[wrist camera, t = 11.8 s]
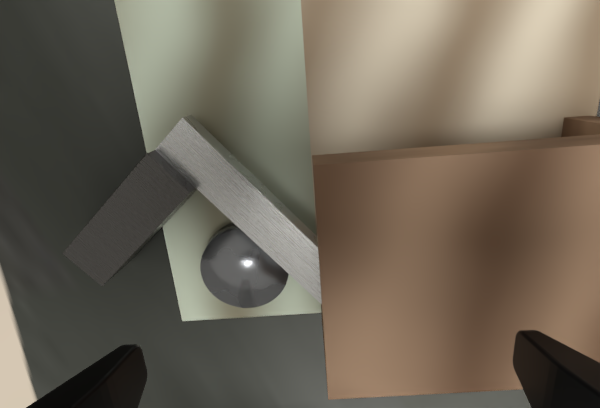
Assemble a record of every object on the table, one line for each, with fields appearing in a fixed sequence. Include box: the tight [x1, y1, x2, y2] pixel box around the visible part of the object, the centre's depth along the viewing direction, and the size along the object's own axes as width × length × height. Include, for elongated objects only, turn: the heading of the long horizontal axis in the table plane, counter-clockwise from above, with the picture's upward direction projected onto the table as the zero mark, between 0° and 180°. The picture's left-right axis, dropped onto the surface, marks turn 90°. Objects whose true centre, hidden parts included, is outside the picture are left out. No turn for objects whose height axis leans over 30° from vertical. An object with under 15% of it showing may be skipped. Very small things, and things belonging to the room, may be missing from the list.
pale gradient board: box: [114, 0, 600, 400], centre depth 15 cm, size 22×23×7 cm
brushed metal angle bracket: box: [62, 115, 322, 304], centre depth 19 cm, size 2×11×9 cm
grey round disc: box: [200, 223, 288, 308], centre depth 20 cm, size 4×4×1 cm
